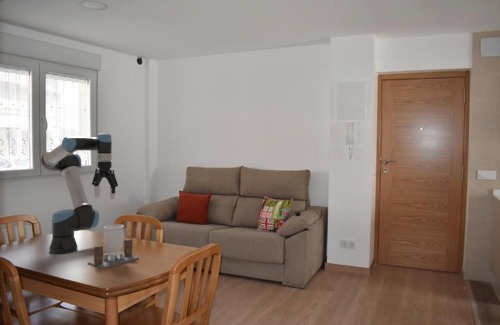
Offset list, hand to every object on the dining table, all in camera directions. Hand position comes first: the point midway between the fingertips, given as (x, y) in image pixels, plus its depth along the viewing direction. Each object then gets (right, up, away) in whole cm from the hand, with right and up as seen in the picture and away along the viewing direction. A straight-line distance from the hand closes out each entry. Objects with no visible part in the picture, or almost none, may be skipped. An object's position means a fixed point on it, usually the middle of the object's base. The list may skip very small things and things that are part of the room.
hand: (104, 198), depth 237 cm
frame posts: (+10, -32, -15) cm, 37 cm away
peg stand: (+10, -32, -15) cm, 37 cm away
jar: (+10, -29, -16) cm, 34 cm away
